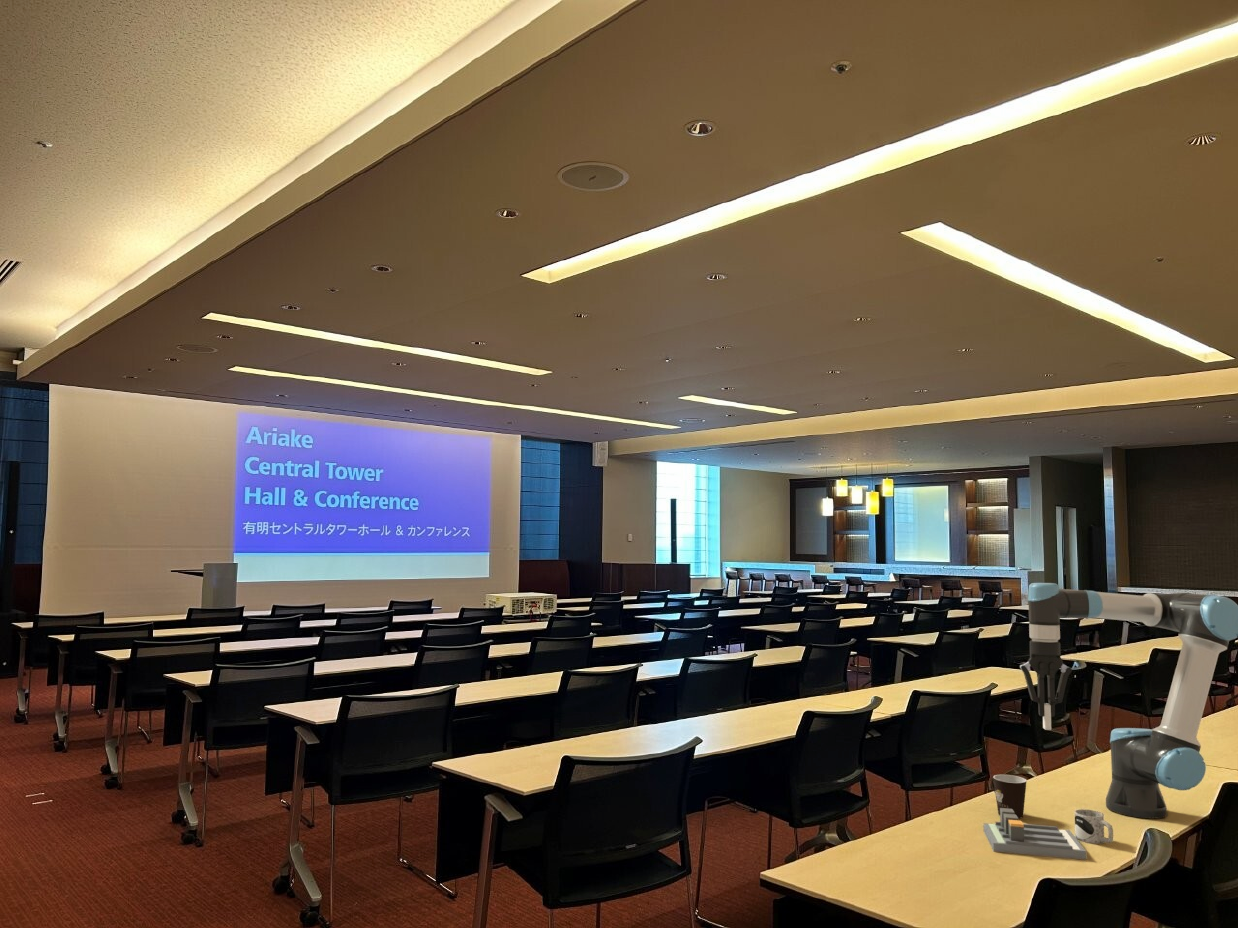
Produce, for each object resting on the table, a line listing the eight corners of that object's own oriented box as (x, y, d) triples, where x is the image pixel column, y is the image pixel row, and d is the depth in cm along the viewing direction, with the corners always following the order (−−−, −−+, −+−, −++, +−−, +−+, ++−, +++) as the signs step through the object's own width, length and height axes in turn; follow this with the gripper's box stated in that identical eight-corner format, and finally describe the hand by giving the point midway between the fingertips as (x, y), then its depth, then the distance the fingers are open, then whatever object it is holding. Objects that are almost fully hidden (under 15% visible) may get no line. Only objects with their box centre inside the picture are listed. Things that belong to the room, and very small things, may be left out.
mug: (1069, 836, 231) (1068, 810, 232) (1087, 833, 234) (1086, 807, 234) (1103, 849, 222) (1102, 822, 222) (1122, 846, 225) (1121, 819, 225)
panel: (1069, 837, 230) (1069, 827, 230) (1086, 859, 215) (1086, 848, 215) (983, 830, 235) (983, 820, 235) (993, 851, 220) (993, 839, 220)
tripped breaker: (1021, 839, 222) (1021, 820, 223) (1024, 843, 219) (1023, 824, 220) (1008, 838, 223) (1008, 819, 224) (1011, 842, 220) (1010, 823, 220)
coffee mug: (1031, 821, 244) (1030, 783, 244) (997, 818, 245) (996, 781, 246) (1020, 808, 255) (1019, 772, 256) (988, 806, 257) (988, 770, 258)
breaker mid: (1016, 832, 227) (1015, 814, 228) (1018, 836, 224) (1018, 818, 225) (1003, 831, 228) (1003, 813, 228) (1006, 835, 225) (1005, 817, 225)
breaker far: (1012, 826, 232) (1012, 808, 233) (1015, 830, 229) (1014, 812, 230) (1000, 825, 233) (999, 807, 233) (1002, 829, 230) (1002, 811, 230)
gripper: (1067, 639, 243) (1070, 727, 241) (1016, 637, 246) (1018, 724, 244) (1074, 642, 236) (1077, 733, 234) (1021, 640, 239) (1023, 730, 237)
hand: (1047, 728), depth 239 cm, fingers closed
